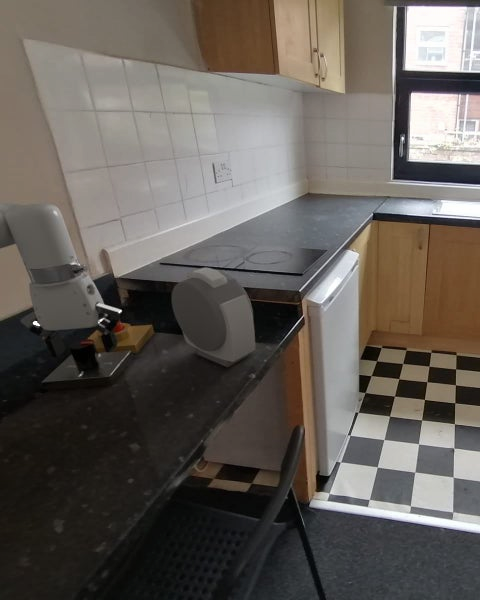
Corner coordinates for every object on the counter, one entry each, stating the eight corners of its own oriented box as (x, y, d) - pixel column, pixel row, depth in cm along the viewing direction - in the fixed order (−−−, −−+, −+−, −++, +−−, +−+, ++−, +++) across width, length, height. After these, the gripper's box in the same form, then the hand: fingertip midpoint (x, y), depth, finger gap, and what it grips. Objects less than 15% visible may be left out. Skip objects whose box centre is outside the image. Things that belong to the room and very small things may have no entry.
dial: (72, 371, 81) (64, 348, 79) (83, 360, 84) (75, 338, 82) (94, 369, 82) (86, 346, 79) (104, 358, 85) (96, 337, 83)
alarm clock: (264, 357, 90) (251, 272, 81) (232, 376, 83) (214, 285, 75) (212, 337, 98) (195, 258, 90) (179, 353, 91) (158, 268, 83)
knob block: (78, 357, 89) (72, 342, 88) (101, 336, 98) (96, 321, 97) (137, 353, 91) (132, 337, 89) (154, 332, 100) (150, 318, 98)
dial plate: (44, 390, 78) (40, 381, 78) (73, 362, 87) (70, 354, 86) (112, 384, 80) (109, 375, 79) (133, 358, 89) (131, 349, 88)
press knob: (101, 335, 91) (99, 328, 91) (109, 327, 94) (107, 321, 94) (119, 334, 92) (117, 327, 91) (126, 326, 95) (124, 320, 94)
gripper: (115, 263, 79) (139, 338, 86) (17, 268, 77) (49, 346, 84) (96, 276, 73) (123, 356, 80) (-13, 282, 70) (25, 365, 77)
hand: (86, 351), depth 82 cm, fingers open, 9 cm apart
